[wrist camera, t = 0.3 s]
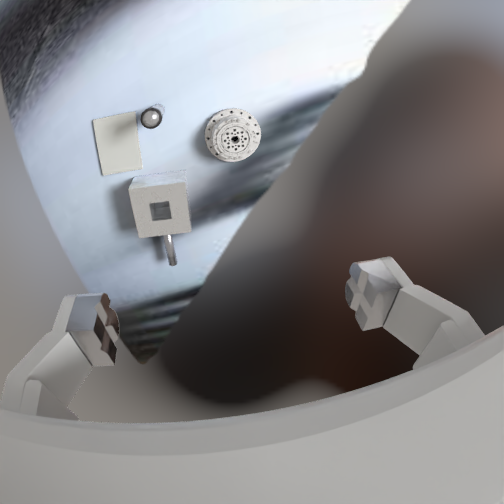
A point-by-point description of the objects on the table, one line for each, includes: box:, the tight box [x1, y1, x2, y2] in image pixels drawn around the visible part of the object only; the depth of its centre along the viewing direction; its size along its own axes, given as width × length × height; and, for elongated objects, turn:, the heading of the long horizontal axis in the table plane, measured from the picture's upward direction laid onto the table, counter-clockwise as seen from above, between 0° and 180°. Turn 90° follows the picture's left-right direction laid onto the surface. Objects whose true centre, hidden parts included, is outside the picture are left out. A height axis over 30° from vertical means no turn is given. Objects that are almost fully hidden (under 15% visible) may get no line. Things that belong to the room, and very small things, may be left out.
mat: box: [93, 111, 143, 176], centre depth 46 cm, size 11×8×1 cm
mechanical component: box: [205, 108, 261, 162], centre depth 48 cm, size 10×4×10 cm
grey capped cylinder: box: [141, 104, 165, 129], centre depth 41 cm, size 3×3×9 cm
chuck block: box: [128, 170, 191, 266], centre depth 55 cm, size 19×10×6 cm, turn 0°
